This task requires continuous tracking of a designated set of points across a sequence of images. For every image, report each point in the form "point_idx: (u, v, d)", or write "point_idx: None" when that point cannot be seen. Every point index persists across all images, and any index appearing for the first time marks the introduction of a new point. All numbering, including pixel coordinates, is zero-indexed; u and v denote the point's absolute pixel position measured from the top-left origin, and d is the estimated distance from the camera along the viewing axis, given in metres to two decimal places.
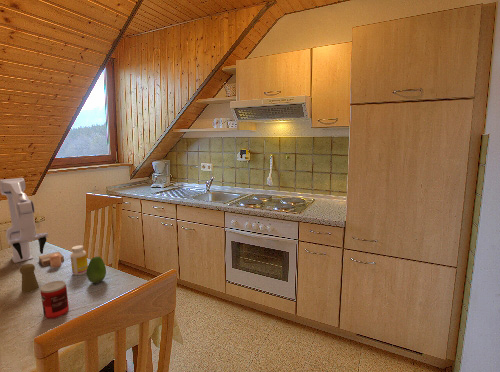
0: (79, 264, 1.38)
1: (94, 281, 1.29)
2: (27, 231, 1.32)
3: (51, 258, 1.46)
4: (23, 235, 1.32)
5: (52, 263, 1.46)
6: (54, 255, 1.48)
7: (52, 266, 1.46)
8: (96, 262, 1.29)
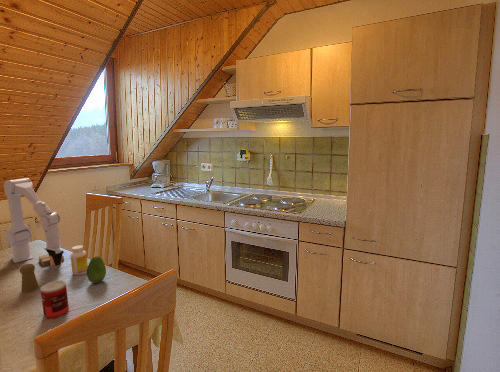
0: (79, 264, 1.38)
1: (94, 281, 1.29)
2: (46, 240, 1.45)
3: (51, 258, 1.46)
4: None
5: (52, 263, 1.46)
6: None
7: (52, 266, 1.46)
8: (96, 262, 1.29)
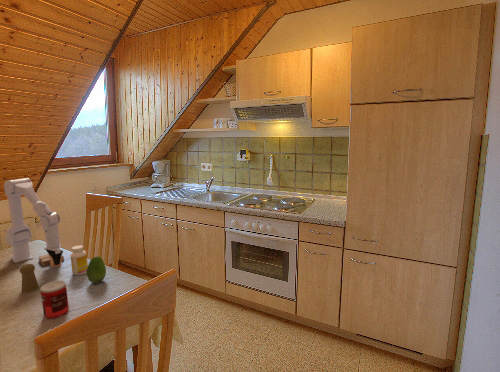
0: (79, 264, 1.38)
1: (94, 281, 1.29)
2: (46, 240, 1.45)
3: (51, 258, 1.46)
4: None
5: (52, 263, 1.46)
6: None
7: (52, 266, 1.46)
8: (96, 262, 1.29)
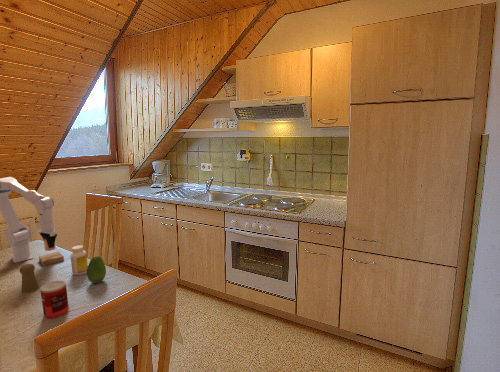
0: (79, 264, 1.38)
1: (94, 281, 1.29)
2: (40, 224, 1.48)
3: (45, 241, 1.50)
4: None
5: (46, 246, 1.50)
6: None
7: (46, 249, 1.50)
8: (96, 262, 1.29)
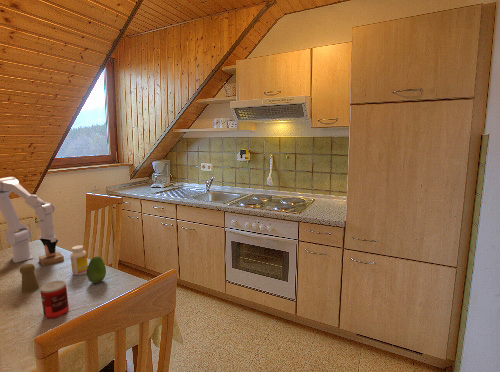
0: (79, 264, 1.38)
1: (94, 281, 1.29)
2: None
3: (46, 247, 1.51)
4: None
5: (47, 252, 1.51)
6: None
7: (47, 255, 1.52)
8: (96, 262, 1.29)
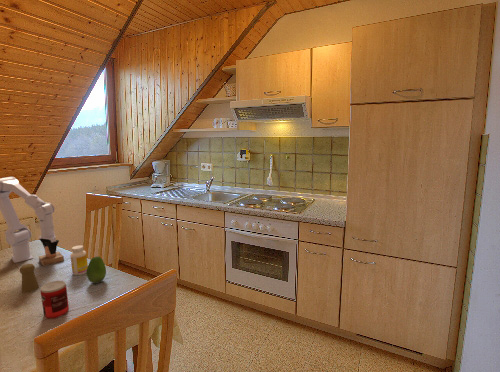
0: (79, 264, 1.38)
1: (94, 281, 1.29)
2: None
3: (46, 249, 1.51)
4: None
5: (47, 253, 1.51)
6: None
7: (47, 256, 1.52)
8: (96, 262, 1.29)
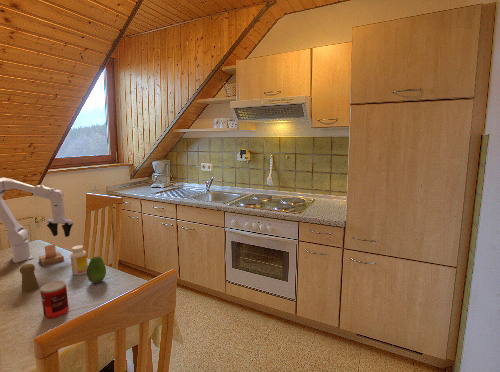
0: (79, 264, 1.38)
1: (94, 281, 1.29)
2: (53, 215, 1.57)
3: (46, 249, 1.51)
4: None
5: (47, 253, 1.51)
6: (49, 246, 1.53)
7: (47, 256, 1.52)
8: (96, 262, 1.29)
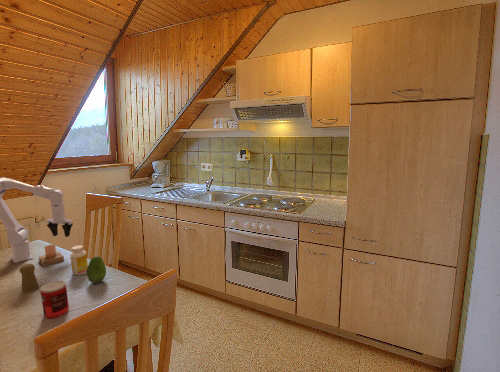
0: (79, 264, 1.38)
1: (94, 281, 1.29)
2: (53, 215, 1.57)
3: (46, 249, 1.51)
4: None
5: (47, 253, 1.51)
6: (49, 246, 1.53)
7: (47, 256, 1.52)
8: (96, 262, 1.29)
